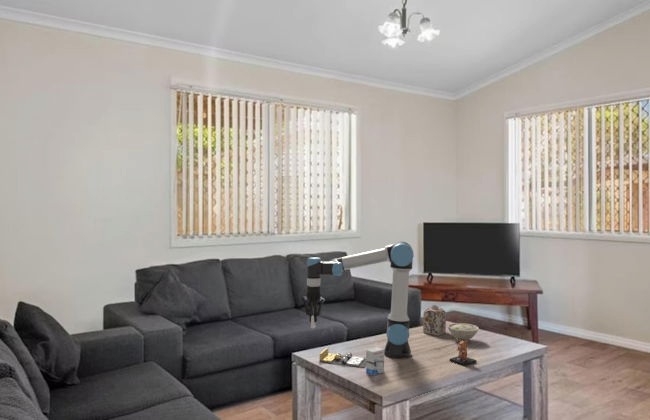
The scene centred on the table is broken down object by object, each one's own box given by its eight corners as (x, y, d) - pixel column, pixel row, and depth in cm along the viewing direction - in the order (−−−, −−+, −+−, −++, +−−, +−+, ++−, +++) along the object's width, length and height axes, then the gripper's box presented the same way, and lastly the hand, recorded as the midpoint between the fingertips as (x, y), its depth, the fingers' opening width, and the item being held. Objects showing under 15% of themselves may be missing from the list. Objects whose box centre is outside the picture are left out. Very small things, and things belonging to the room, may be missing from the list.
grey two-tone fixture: (370, 359, 266) (370, 359, 266) (364, 367, 252) (364, 367, 252) (327, 354, 274) (327, 353, 274) (319, 362, 261) (319, 361, 261)
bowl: (442, 342, 301) (442, 326, 300) (452, 335, 317) (452, 319, 317) (474, 347, 290) (474, 330, 290) (482, 339, 307) (482, 324, 307)
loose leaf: (343, 356, 269) (343, 349, 269) (336, 363, 258) (336, 355, 258) (326, 354, 272) (327, 347, 272) (319, 361, 261) (319, 353, 261)
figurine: (449, 361, 264) (449, 339, 264) (461, 358, 270) (461, 336, 270) (464, 366, 256) (465, 344, 256) (476, 363, 262) (476, 341, 262)
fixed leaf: (364, 358, 266) (364, 353, 266) (358, 366, 253) (358, 360, 253) (347, 356, 269) (347, 351, 269) (340, 364, 257) (340, 358, 257)
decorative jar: (429, 329, 330) (430, 303, 330) (446, 332, 324) (446, 305, 323) (422, 333, 321) (422, 306, 320) (439, 336, 314) (439, 308, 314)
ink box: (372, 375, 241) (372, 352, 241) (365, 372, 245) (365, 349, 245) (384, 372, 246) (384, 349, 246) (377, 369, 250) (377, 346, 250)
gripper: (327, 285, 269) (326, 327, 270) (305, 283, 274) (304, 325, 274) (322, 287, 262) (322, 330, 263) (300, 285, 267) (299, 328, 267)
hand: (313, 327), depth 269 cm, fingers closed
